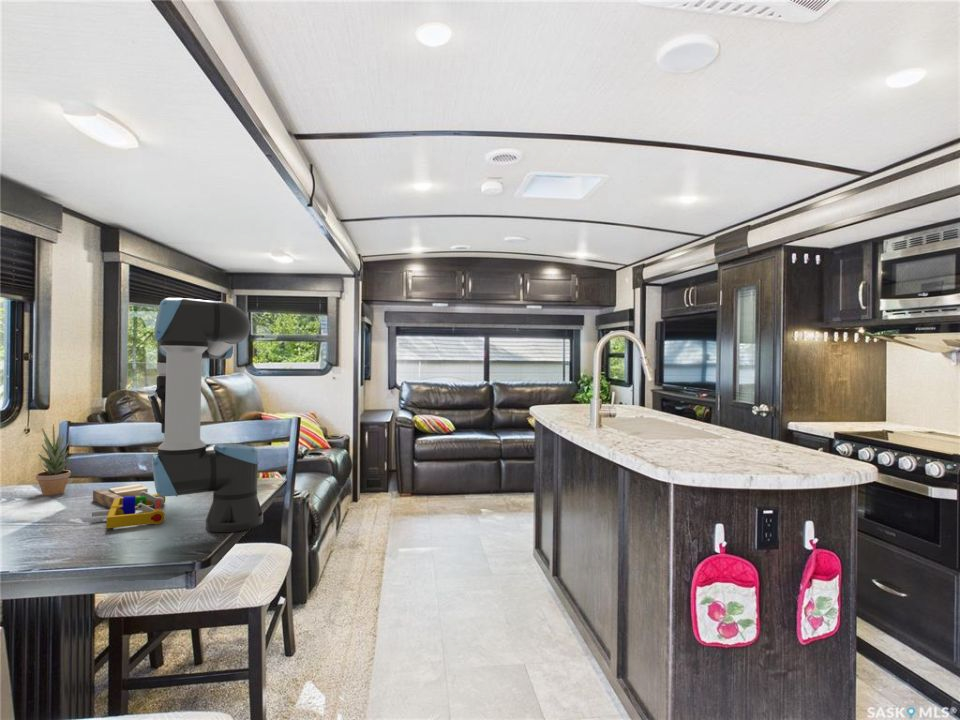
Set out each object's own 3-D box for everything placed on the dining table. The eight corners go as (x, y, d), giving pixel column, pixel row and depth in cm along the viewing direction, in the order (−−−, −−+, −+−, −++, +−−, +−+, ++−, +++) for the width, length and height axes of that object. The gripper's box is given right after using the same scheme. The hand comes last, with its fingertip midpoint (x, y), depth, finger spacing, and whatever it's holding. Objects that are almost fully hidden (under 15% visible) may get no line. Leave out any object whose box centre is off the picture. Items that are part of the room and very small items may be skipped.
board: (124, 508, 166) (124, 497, 166) (115, 510, 164) (115, 499, 164) (101, 499, 176) (101, 489, 176) (92, 500, 174) (93, 490, 174)
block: (147, 500, 177) (147, 488, 177) (116, 505, 171) (116, 493, 171) (139, 495, 183) (139, 484, 183) (108, 500, 177) (108, 488, 177)
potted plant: (29, 494, 180) (30, 423, 181) (60, 489, 189) (61, 421, 189) (46, 498, 177) (48, 425, 177) (77, 492, 185) (78, 422, 186)
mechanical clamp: (166, 482, 176) (165, 502, 150) (165, 501, 176) (164, 524, 150) (99, 487, 167) (86, 510, 141) (98, 507, 166) (85, 533, 141)
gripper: (182, 375, 191) (181, 439, 190) (144, 375, 180) (142, 443, 180) (193, 375, 187) (192, 441, 186) (154, 375, 176) (152, 445, 175)
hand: (167, 442), depth 183 cm, fingers closed
